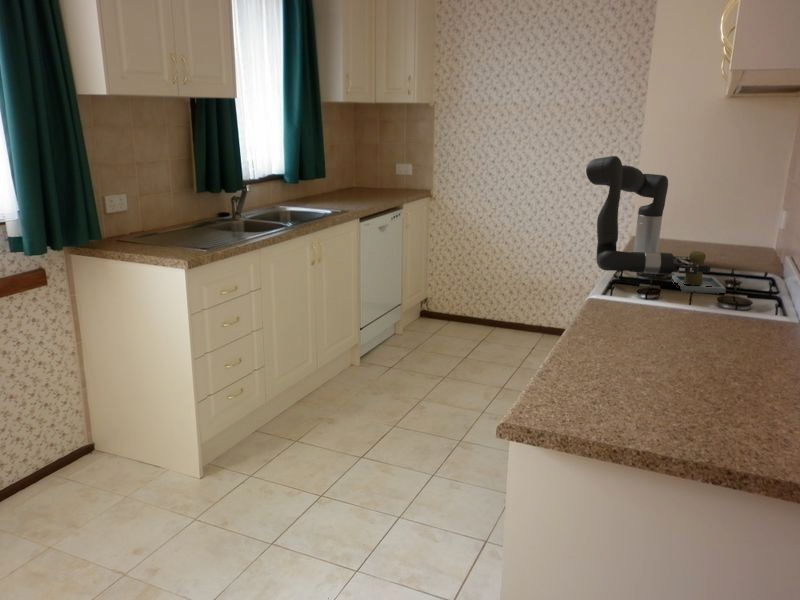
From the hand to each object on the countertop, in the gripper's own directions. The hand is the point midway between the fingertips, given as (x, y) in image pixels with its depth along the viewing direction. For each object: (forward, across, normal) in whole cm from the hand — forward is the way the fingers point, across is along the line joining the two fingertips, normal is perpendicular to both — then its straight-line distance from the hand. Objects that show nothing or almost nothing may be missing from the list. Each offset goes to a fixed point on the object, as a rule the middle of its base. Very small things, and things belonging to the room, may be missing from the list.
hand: (706, 266), depth 225 cm
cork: (-3, +2, +7) cm, 8 cm away
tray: (-2, 0, +8) cm, 8 cm away
